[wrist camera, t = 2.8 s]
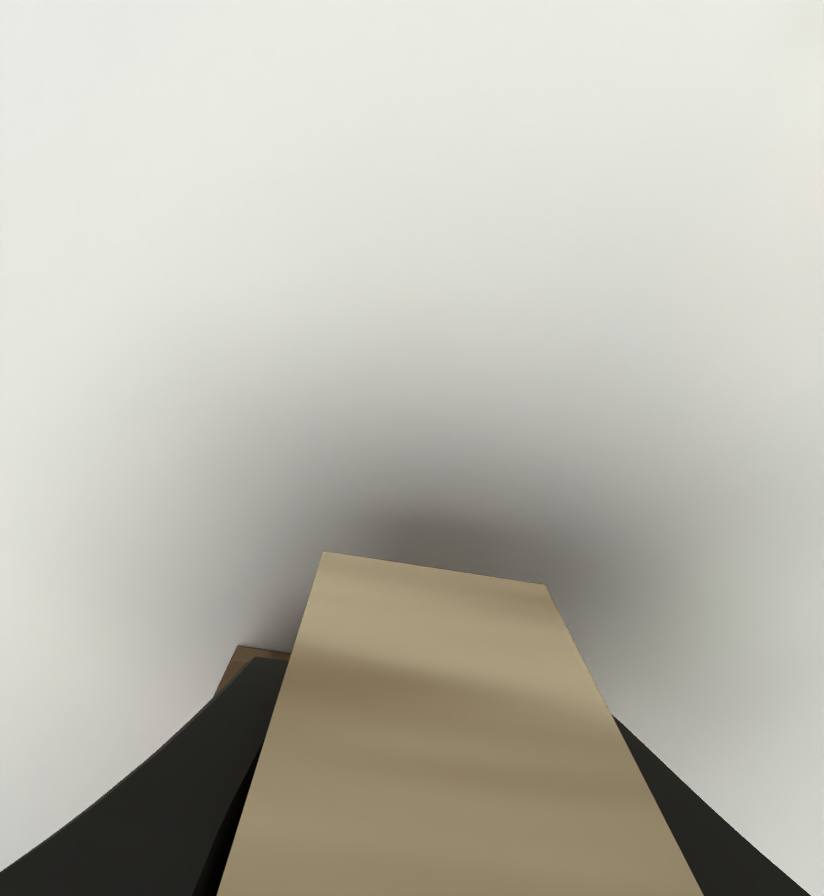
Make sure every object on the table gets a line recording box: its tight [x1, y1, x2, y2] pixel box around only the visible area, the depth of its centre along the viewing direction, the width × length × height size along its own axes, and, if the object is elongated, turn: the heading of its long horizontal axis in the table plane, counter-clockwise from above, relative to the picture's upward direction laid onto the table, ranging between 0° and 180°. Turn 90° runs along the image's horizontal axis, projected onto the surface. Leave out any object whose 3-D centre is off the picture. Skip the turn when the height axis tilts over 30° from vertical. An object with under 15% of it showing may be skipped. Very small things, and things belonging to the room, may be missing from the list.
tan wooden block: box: [217, 551, 704, 896], centre depth 7 cm, size 4×4×6 cm
